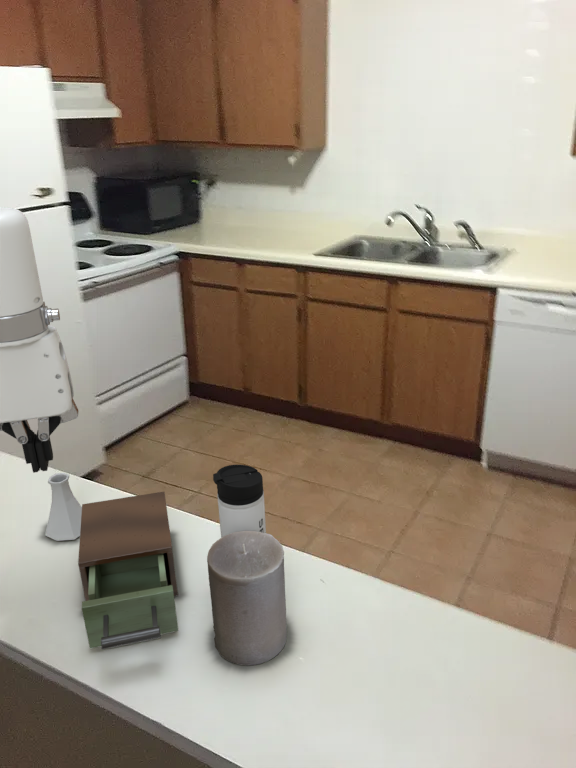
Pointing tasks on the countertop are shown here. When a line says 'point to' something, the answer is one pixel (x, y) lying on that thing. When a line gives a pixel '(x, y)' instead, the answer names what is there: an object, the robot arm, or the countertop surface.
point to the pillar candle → (248, 597)
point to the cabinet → (125, 533)
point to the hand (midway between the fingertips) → (41, 465)
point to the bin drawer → (129, 602)
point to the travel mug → (240, 499)
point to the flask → (63, 510)
